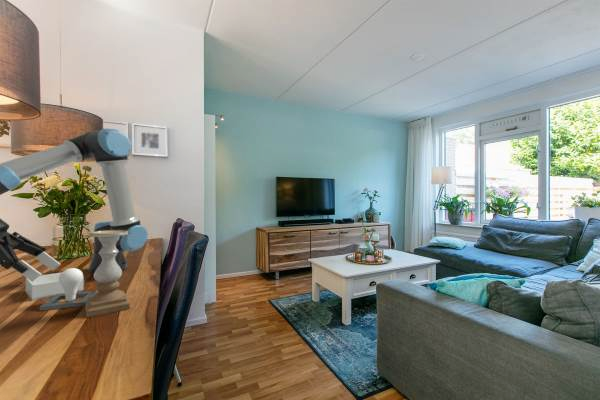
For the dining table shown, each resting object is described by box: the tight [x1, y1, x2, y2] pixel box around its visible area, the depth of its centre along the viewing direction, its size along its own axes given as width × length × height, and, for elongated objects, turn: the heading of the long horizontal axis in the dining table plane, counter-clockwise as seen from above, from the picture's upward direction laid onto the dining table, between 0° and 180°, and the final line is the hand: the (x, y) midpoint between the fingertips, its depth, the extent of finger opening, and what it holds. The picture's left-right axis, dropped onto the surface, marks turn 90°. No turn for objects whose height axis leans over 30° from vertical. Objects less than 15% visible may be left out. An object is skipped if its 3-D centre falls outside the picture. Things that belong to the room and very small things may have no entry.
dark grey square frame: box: [39, 290, 98, 311], centre depth 89 cm, size 12×12×1 cm
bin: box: [25, 271, 85, 302], centre depth 99 cm, size 14×14×5 cm
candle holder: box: [84, 230, 131, 318], centre depth 85 cm, size 11×11×24 cm
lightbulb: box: [59, 267, 84, 302], centre depth 89 cm, size 6×6×11 cm
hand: (47, 272), depth 86 cm, fingers open, 13 cm apart
